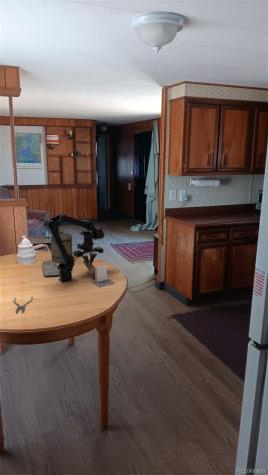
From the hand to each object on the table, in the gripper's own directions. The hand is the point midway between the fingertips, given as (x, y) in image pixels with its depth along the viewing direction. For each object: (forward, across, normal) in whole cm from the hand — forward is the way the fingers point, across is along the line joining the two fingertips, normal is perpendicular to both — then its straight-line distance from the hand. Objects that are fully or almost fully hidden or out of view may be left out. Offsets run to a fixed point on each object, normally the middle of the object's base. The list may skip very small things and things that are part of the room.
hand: (88, 265), depth 218 cm
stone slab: (+7, +16, -22) cm, 29 cm away
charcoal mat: (+6, +1, +19) cm, 20 cm away
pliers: (+7, +48, +22) cm, 54 cm away
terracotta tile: (+6, 0, +15) cm, 16 cm away
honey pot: (+7, +23, -49) cm, 55 cm away
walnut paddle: (+3, 0, +2) cm, 3 cm away
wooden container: (+6, +1, -38) cm, 39 cm away
